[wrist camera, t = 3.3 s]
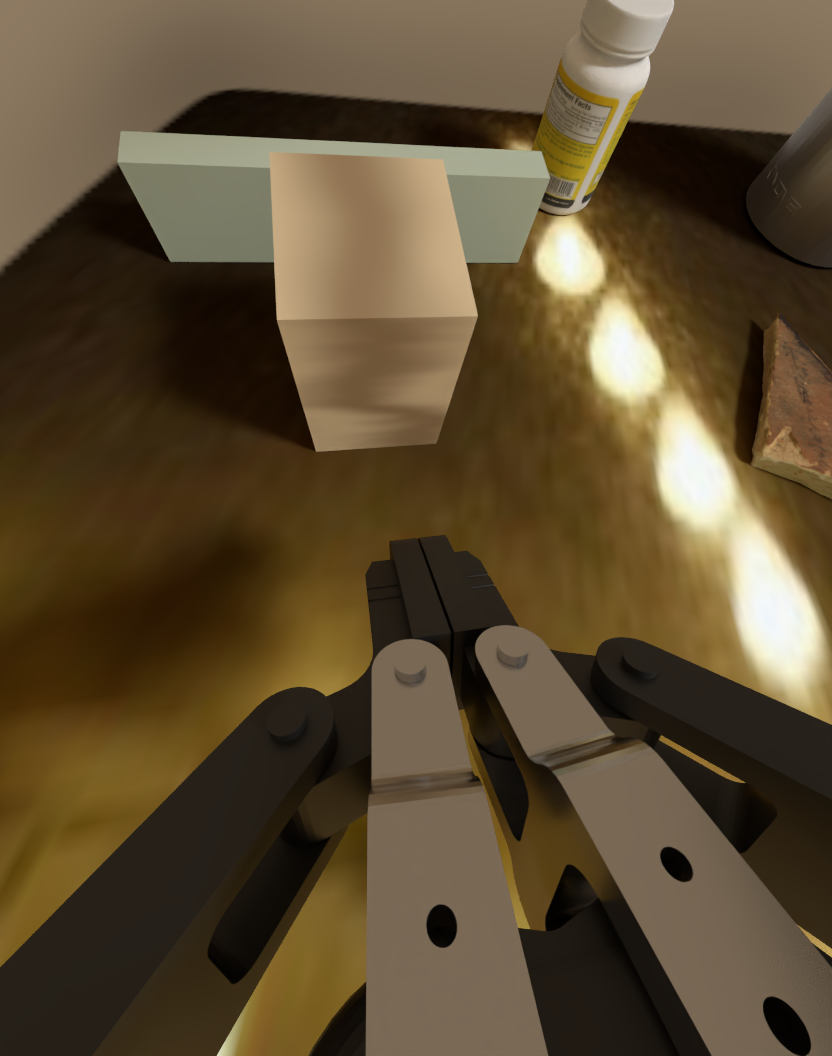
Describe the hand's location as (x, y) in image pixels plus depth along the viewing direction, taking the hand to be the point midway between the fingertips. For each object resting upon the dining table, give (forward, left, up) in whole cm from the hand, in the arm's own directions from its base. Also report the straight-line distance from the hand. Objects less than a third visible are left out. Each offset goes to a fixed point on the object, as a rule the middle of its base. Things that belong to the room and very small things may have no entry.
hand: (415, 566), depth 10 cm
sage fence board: (0, -20, -7) cm, 21 cm away
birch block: (0, -11, -7) cm, 13 cm away
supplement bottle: (-14, -26, -7) cm, 30 cm away
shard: (-24, -7, -7) cm, 26 cm away
